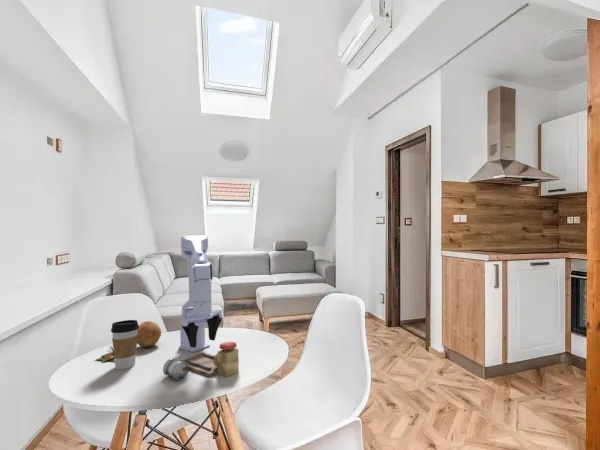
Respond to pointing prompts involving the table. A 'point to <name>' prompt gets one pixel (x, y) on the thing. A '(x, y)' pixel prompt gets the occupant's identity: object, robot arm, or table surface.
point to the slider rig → (215, 361)
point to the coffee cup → (124, 343)
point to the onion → (148, 334)
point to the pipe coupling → (176, 369)
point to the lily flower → (107, 356)
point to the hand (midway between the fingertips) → (202, 343)
